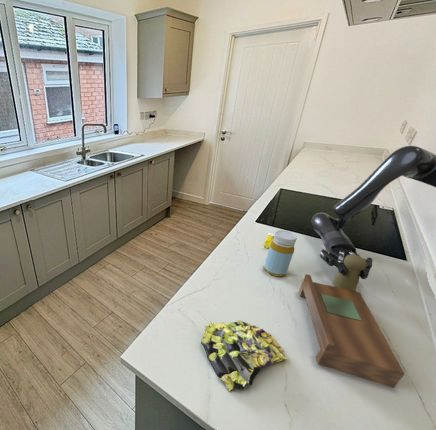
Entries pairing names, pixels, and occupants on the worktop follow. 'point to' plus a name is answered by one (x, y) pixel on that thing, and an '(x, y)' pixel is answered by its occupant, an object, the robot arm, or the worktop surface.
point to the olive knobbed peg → (350, 273)
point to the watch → (269, 240)
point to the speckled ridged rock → (239, 351)
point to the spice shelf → (349, 334)
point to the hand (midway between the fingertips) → (355, 274)
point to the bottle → (280, 253)
